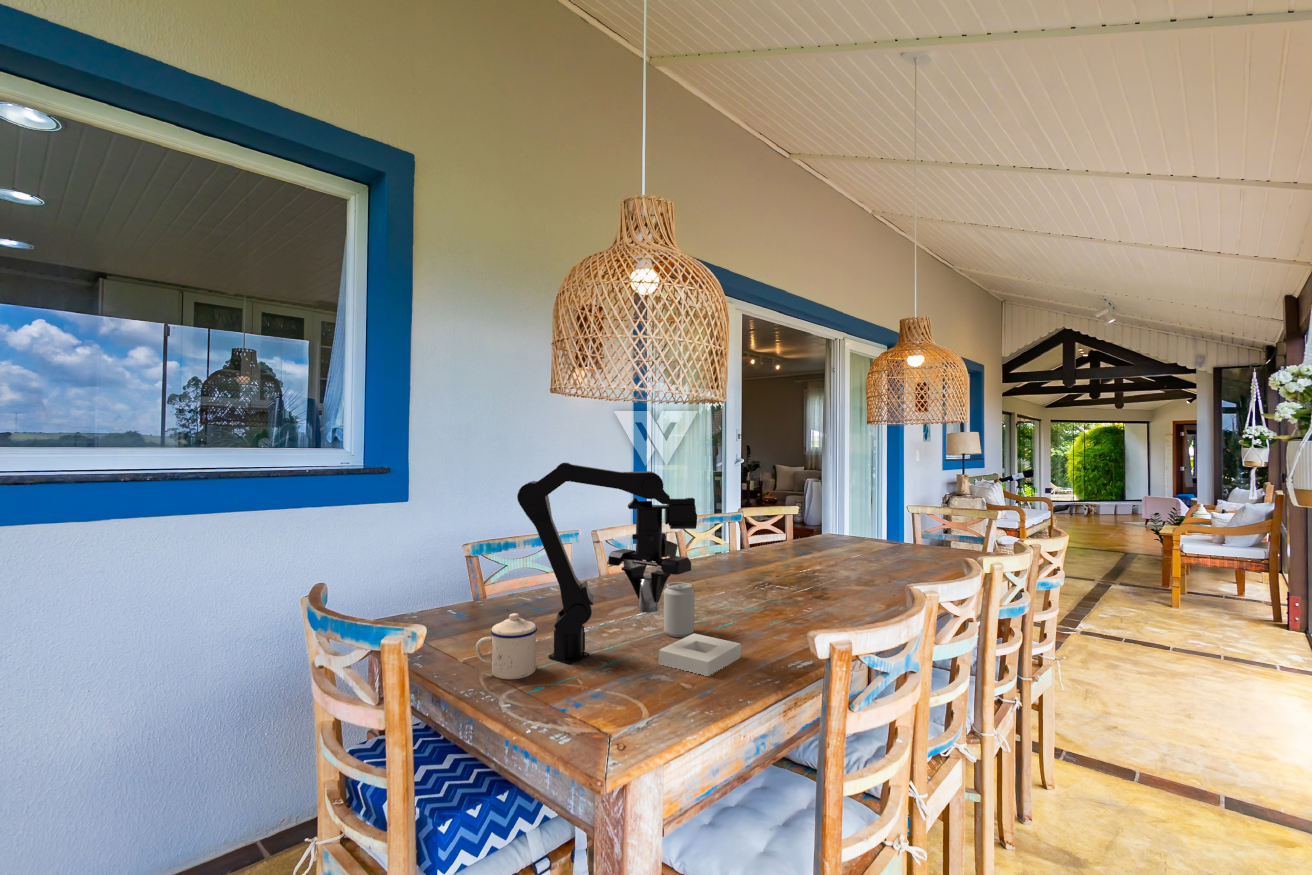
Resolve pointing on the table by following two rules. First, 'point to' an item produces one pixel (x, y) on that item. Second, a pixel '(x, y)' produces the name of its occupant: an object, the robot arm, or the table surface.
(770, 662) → the table surface
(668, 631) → the can
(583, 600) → the robot arm
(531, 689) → the table surface
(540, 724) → the table surface
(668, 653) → the block
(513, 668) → the teacup with lid
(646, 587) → the grey metal cylinder
